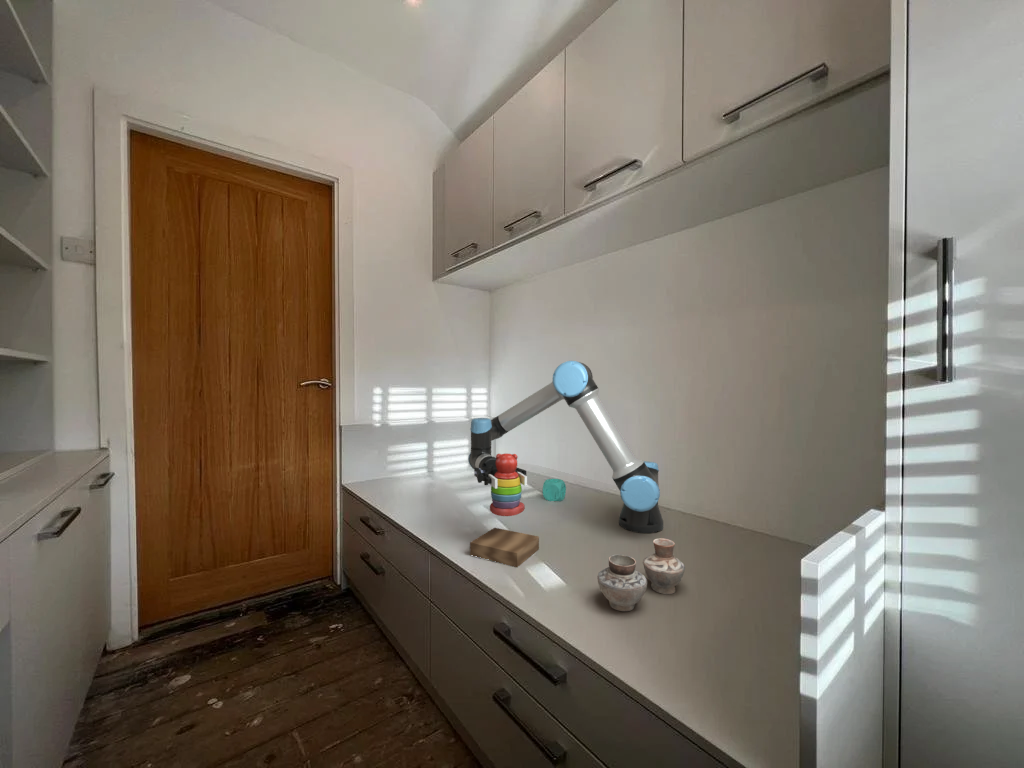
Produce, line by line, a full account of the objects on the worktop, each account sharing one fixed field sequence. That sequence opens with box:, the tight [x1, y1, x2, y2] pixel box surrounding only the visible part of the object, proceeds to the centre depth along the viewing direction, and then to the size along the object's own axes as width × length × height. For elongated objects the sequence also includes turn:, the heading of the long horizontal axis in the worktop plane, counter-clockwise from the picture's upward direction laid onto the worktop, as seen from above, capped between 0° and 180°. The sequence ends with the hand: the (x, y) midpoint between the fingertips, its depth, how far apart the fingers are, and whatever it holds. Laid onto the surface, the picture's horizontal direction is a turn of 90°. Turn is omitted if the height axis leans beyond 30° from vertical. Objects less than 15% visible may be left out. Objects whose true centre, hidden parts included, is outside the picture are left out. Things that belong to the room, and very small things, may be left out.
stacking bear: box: [489, 453, 526, 517], centre depth 129 cm, size 11×10×18 cm
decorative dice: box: [542, 478, 567, 502], centre depth 183 cm, size 8×8×8 cm
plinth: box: [469, 527, 540, 568], centre depth 128 cm, size 16×14×4 cm
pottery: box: [597, 537, 686, 612], centre depth 103 cm, size 11×25×12 cm, turn 121°
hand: (511, 482), depth 125 cm, fingers closed on stacking bear, 9 cm apart
